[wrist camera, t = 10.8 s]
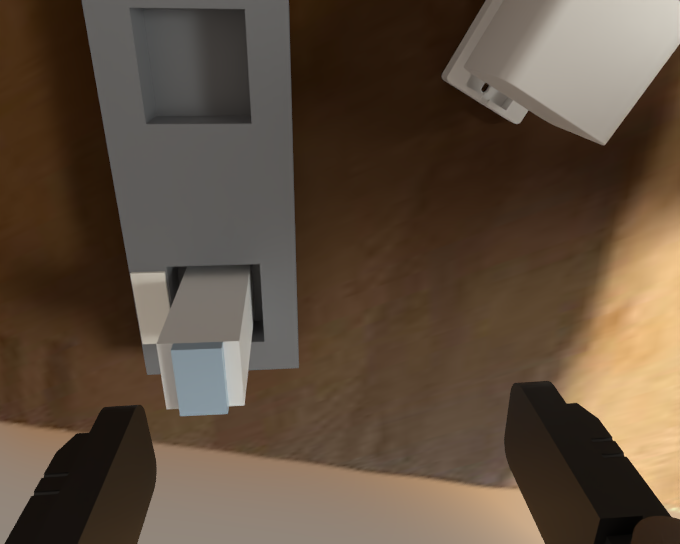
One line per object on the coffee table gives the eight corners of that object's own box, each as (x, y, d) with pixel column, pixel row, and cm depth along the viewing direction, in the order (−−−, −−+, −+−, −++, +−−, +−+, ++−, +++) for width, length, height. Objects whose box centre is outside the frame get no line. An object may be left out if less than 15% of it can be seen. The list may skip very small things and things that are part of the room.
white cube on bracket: (586, 18, 32) (706, 19, 23) (515, 125, 34) (598, 165, 25) (502, -44, 30) (596, -69, 21) (433, 74, 32) (490, 96, 23)
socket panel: (287, -36, 29) (287, -42, 26) (297, 341, 39) (298, 369, 36) (96, -39, 28) (71, -46, 25) (158, 346, 38) (146, 376, 35)
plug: (251, 258, 36) (238, 347, 26) (254, 311, 37) (243, 413, 28) (189, 260, 35) (153, 351, 26) (195, 313, 37) (164, 416, 27)
